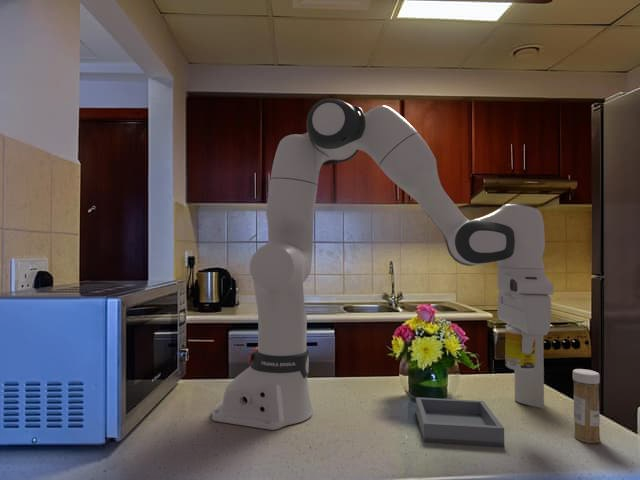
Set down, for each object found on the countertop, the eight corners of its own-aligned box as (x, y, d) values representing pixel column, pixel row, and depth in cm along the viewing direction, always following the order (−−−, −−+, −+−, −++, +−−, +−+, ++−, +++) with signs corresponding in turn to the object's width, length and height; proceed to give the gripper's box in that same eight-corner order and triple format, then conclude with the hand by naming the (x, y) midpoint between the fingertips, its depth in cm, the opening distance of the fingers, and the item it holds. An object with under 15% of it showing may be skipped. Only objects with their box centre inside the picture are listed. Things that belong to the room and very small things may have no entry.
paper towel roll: (513, 396, 108) (513, 313, 108) (540, 399, 106) (539, 315, 106) (515, 405, 101) (515, 317, 102) (544, 409, 99) (543, 319, 100)
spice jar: (603, 445, 80) (603, 375, 81) (577, 442, 82) (576, 373, 82) (596, 436, 84) (595, 369, 85) (570, 433, 86) (569, 367, 86)
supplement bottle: (525, 373, 82) (525, 321, 82) (499, 366, 87) (500, 317, 87) (540, 369, 85) (541, 319, 85) (515, 363, 90) (515, 315, 90)
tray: (423, 441, 81) (423, 423, 81) (415, 412, 96) (415, 397, 96) (504, 447, 79) (504, 428, 79) (483, 416, 94) (483, 400, 94)
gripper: (490, 278, 97) (489, 338, 97) (521, 285, 77) (521, 360, 77) (519, 279, 96) (518, 339, 96) (558, 286, 76) (557, 362, 76)
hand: (519, 349), depth 86 cm, fingers closed on supplement bottle, 6 cm apart
